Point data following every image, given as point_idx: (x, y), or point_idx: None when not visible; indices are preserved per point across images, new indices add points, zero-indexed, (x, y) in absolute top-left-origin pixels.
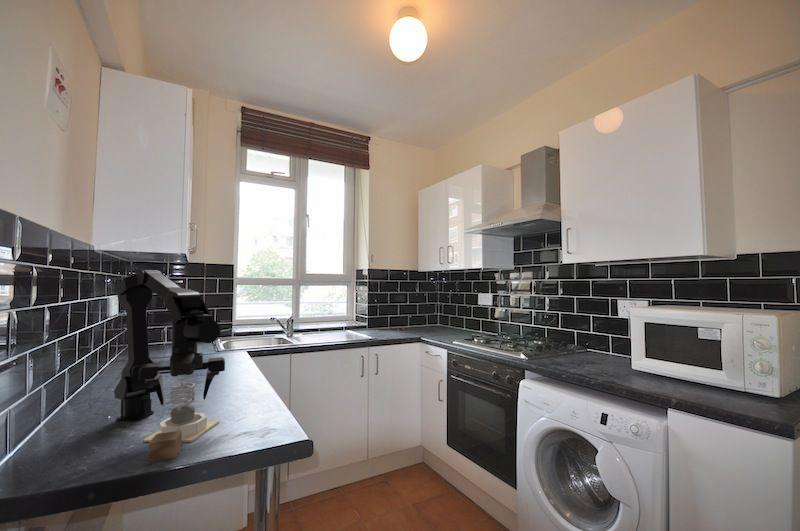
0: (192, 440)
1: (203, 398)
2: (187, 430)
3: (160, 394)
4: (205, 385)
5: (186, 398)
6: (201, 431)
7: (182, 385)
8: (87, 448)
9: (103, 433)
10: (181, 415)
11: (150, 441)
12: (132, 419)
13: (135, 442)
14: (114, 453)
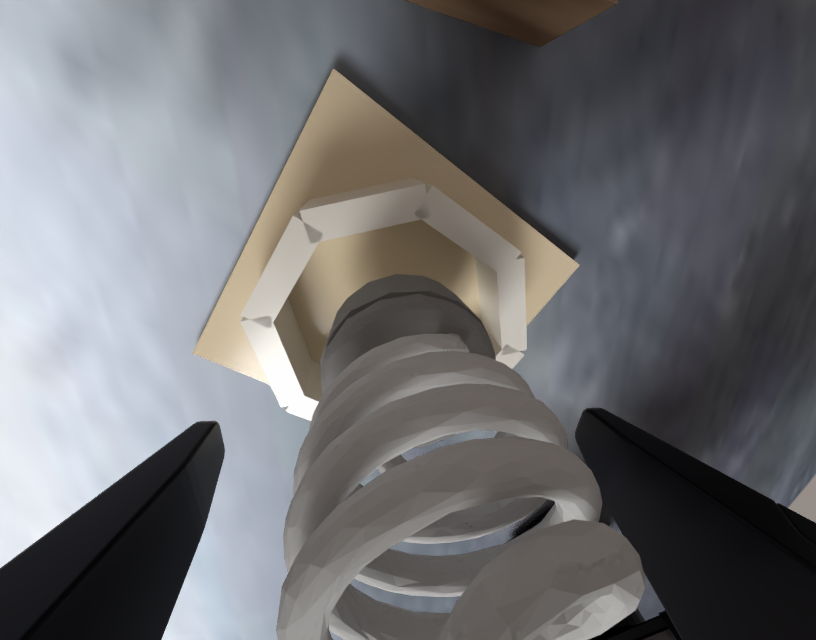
0: (327, 81)
1: (211, 425)
2: (365, 192)
3: (719, 487)
4: (39, 608)
5: (398, 385)
6: (281, 219)
7: (516, 620)
8: (749, 309)
9: (664, 437)
10: (419, 290)
11: None
12: None
13: (599, 276)
14: (701, 172)
